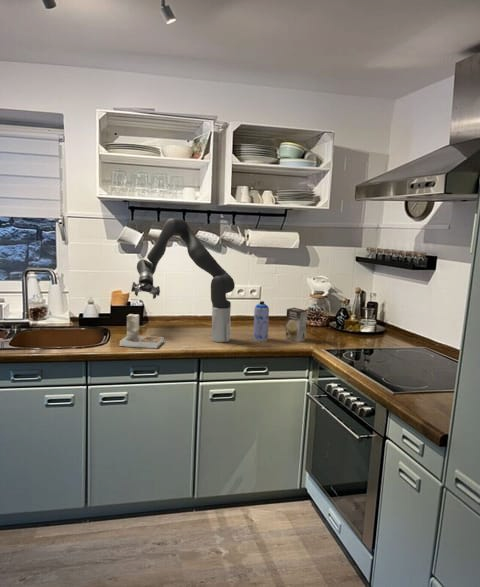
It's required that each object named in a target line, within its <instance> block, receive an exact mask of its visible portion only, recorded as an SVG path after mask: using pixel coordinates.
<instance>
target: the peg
mask: <svg viewBox="0 0 480 587" xmlns="http://www.w3.org/2000/svg"><path fill="white" fill-rule="evenodd" d="M126 336H127V340H138V339H139V336H140V314H138V313H137V314H134V313H129V314H128V315H126Z"/></svg>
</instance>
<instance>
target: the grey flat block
mask: <svg viewBox="0 0 480 587" xmlns="http://www.w3.org/2000/svg"><path fill="white" fill-rule="evenodd" d="M164 338H165V337H164V336H153V335H139V339H138V340H127V335H126V336H124V337H123V338H121V340H119V347H126V348H127V347H129V348H140V347H141V348H142V349H145V348H146V349H158V348H159V347H160V346H161V345H162V344H163V343H164ZM141 348H140V349H141Z"/></svg>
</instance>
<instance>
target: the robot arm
mask: <svg viewBox="0 0 480 587" xmlns="http://www.w3.org/2000/svg"><path fill="white" fill-rule="evenodd" d="M175 236H176V237H179V238H181V239H182V240H183V241H182V242H184V243H185V244H186V248H187V254H188V256H189V258H190V259H191V260H192V261H193V263H195V265H196V266H197V267H199V268H200V269H201V270H203V271H204V272H206V273H208V274H209V275H210V276H212V279H211V281H210V282H211V283H210V302H211V305H212V309H211V310H212V312H211V341H212V342H215V343H229V342H230V340H231V326H232V325H231V324H232V321H231V310H232V309H231V308H232V305H231V304H232V303H231V302H230V300H227V294H228V293H232V292H233V291H234V289H235V281H234V279H233V277H232V275H230V274H229V273H228V272H227V271H226V270H225V269H224V268H223V267H222V266H221V265H220V263H218V262H217V260H216V259H215V257H213V256H212V255H211V253H210V251H209V250H208V249H207V248H206V247H205V246H204V244H203V243H202V242H201V241H200V240H199V238H198V237H197V236H196V235H195V233H194V231H193V230H192V229H191V227H190V226H189V224H188V223H187V221H185V219H183V218H176V217H175V218H174V217H172V218H168V219H167V220H166V222H165V223H164V225H163V228H162V229H161V232H160V233H159V236H158V238H157V240H156V242H155V244H154V245H153V246H152V248H151V250H150V251H149V252H148V254H147V256H146V257H147V260H146V259H143V258H142V259H139V261H137V263H136V264H137V265H136V270H137V272H138V274H139V276H138V283H136V282H135V281H132V285H131V289H130V290H131V292H132V293H133V292H134V295H135V297H138V295H139V293H141V292H144V293H149V294H150V295H152V299H154V300H155V299H156V298H157V297H158V296H160V293H161V289H160V286H155V285H154V274H155V272H156V270H157V266H158V264H159V262H160V260H161V259H162V258H163V257H164V255H165V253H166V250H167V245H168V242H169V240H170V239H171V238H172V237H175Z"/></svg>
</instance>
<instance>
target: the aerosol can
mask: <svg viewBox="0 0 480 587" xmlns="http://www.w3.org/2000/svg"><path fill="white" fill-rule="evenodd" d="M269 313H270V307H269V306H268V305H267V304H265V301H262V300H261V301H259V303H258V304H256V305H255V306H254V313H253V315H254V316H253V334H252V335H253V338H252V339H253V340H254V341H256V342H266V341H268V340H269V338H268V337H269V318H270V317H269V316H270V314H269Z"/></svg>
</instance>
